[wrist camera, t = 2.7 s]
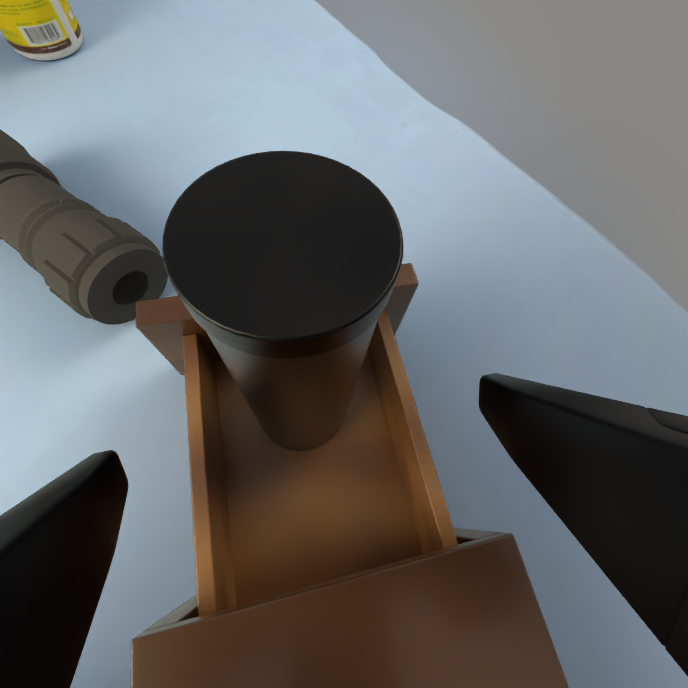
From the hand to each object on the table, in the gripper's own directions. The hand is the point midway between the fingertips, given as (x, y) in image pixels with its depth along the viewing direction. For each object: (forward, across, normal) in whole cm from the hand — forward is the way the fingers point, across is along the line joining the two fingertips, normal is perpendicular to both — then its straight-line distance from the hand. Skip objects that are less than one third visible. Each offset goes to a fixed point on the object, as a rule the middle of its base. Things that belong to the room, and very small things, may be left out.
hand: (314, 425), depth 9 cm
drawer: (+8, 0, +6) cm, 10 cm away
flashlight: (+19, +13, -4) cm, 24 cm away
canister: (+9, 0, +4) cm, 10 cm away
